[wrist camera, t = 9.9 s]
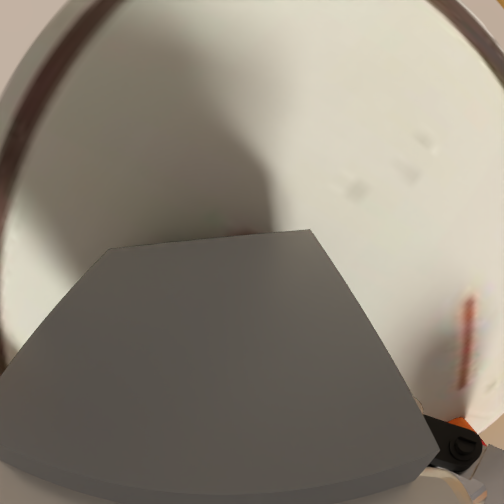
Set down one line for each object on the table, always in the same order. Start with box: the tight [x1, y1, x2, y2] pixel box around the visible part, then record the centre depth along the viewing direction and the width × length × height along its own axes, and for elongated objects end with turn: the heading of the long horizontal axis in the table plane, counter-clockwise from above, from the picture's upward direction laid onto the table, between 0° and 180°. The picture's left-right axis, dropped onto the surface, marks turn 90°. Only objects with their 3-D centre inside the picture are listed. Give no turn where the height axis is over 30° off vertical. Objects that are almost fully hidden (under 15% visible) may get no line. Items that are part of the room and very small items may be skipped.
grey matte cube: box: [0, 229, 440, 504], centre depth 8 cm, size 8×8×9 cm
